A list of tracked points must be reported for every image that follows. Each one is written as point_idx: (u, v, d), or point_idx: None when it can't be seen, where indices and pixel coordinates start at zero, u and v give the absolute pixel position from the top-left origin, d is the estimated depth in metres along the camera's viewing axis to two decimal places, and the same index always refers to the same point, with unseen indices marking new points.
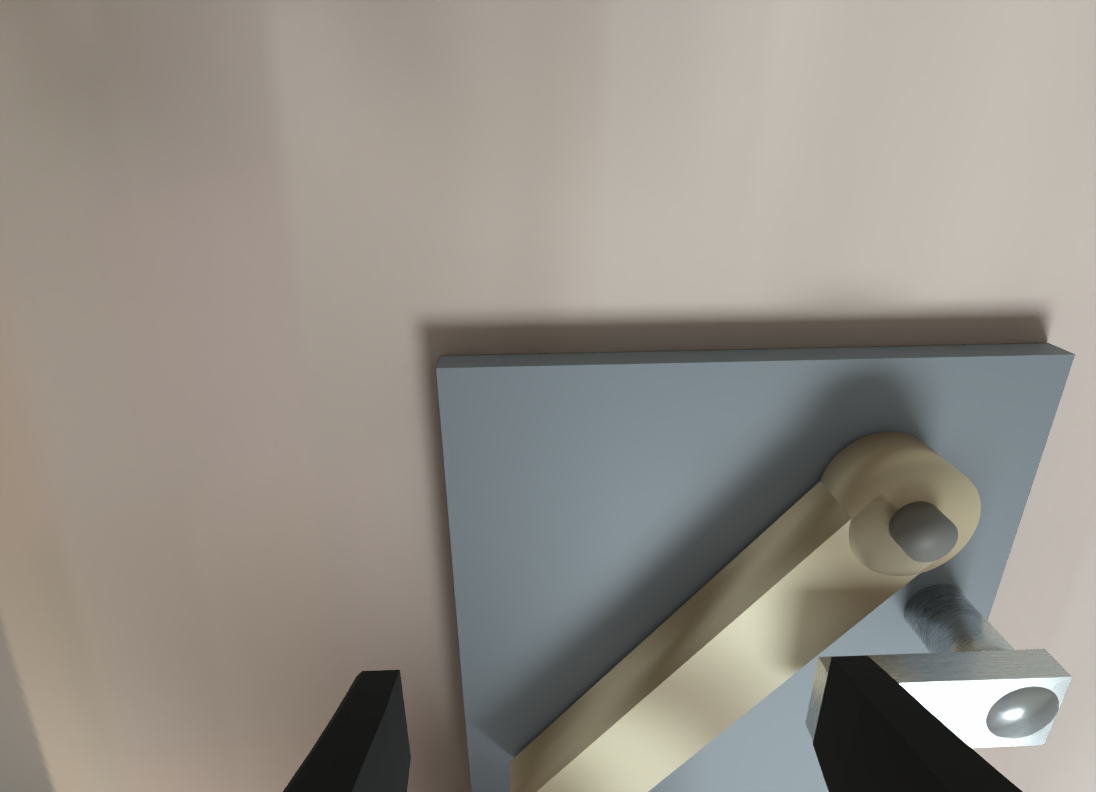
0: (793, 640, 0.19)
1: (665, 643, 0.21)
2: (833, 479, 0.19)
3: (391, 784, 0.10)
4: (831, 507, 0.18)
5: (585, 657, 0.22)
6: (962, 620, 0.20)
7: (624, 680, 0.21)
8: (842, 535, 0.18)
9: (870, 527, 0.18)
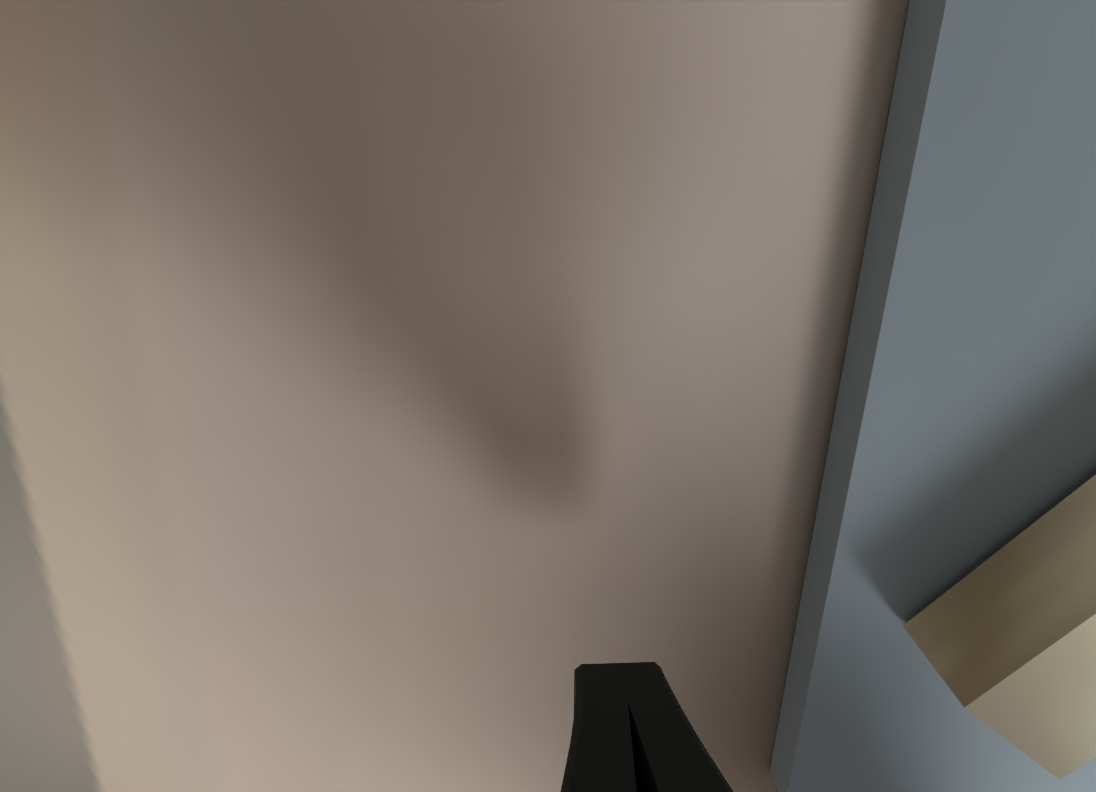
0: None
1: None
2: None
3: None
4: None
5: None
6: None
7: None
8: None
9: None
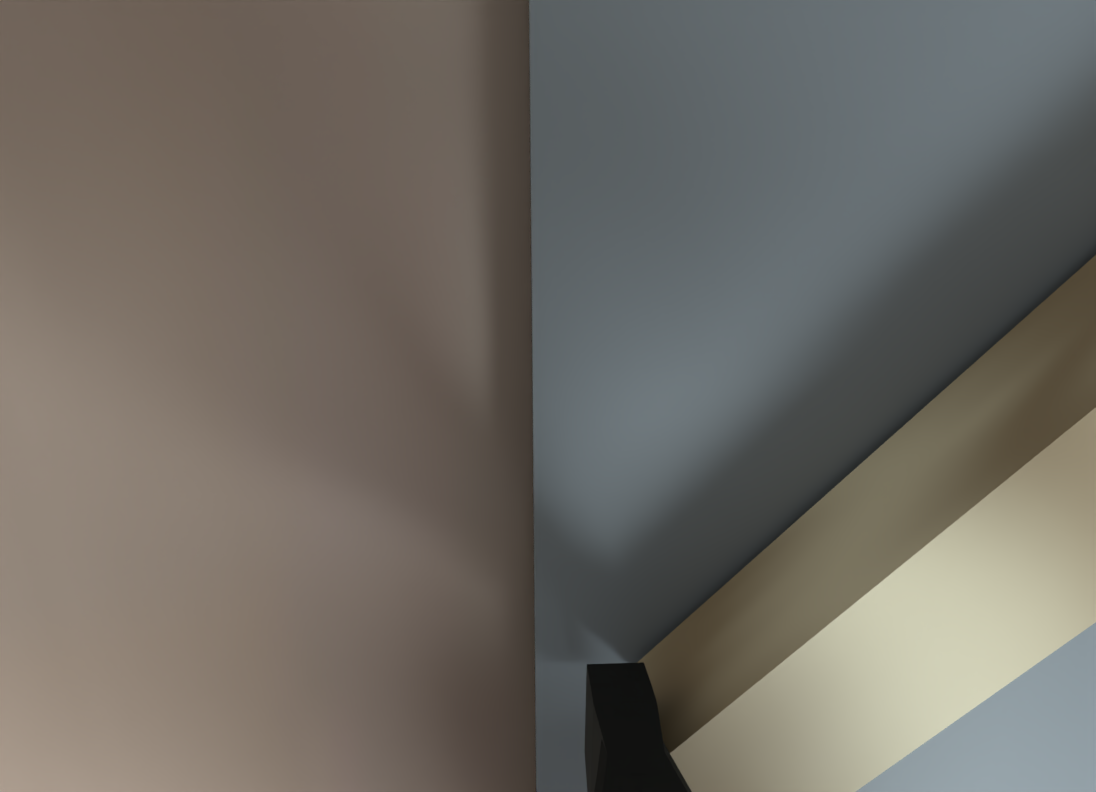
0: None
1: (1027, 369, 0.09)
2: None
3: None
4: None
5: (802, 431, 0.10)
6: None
7: (914, 467, 0.09)
8: None
9: None
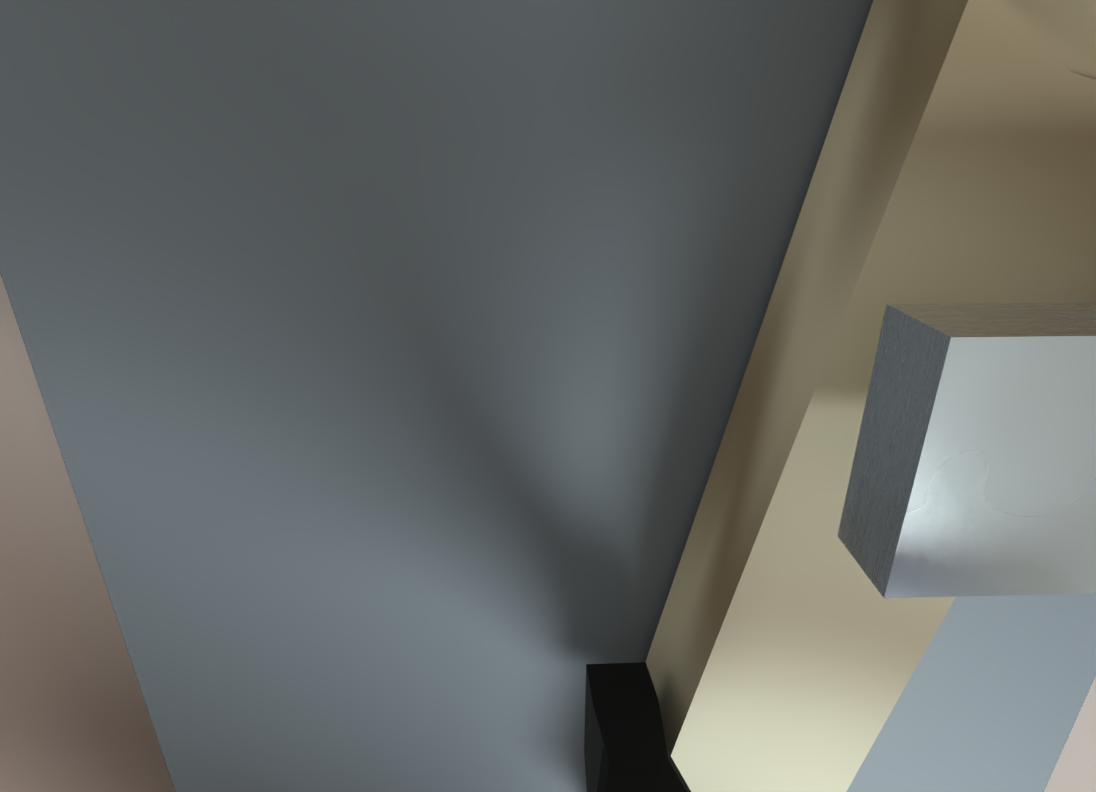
0: None
1: (717, 519, 0.10)
2: None
3: None
4: None
5: (340, 438, 0.10)
6: None
7: (681, 621, 0.10)
8: (988, 15, 0.06)
9: None
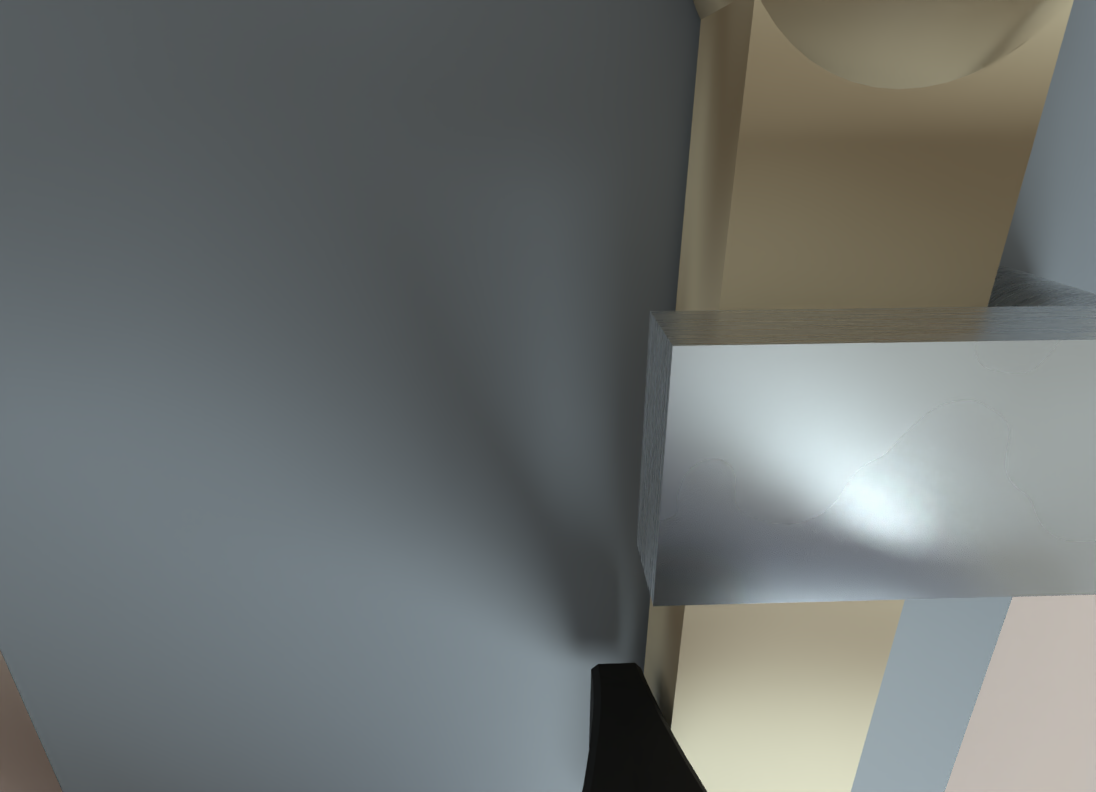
0: None
1: None
2: None
3: None
4: (725, 29, 0.07)
5: (197, 444, 0.10)
6: (1057, 297, 0.08)
7: (658, 647, 0.11)
8: (773, 54, 0.06)
9: None
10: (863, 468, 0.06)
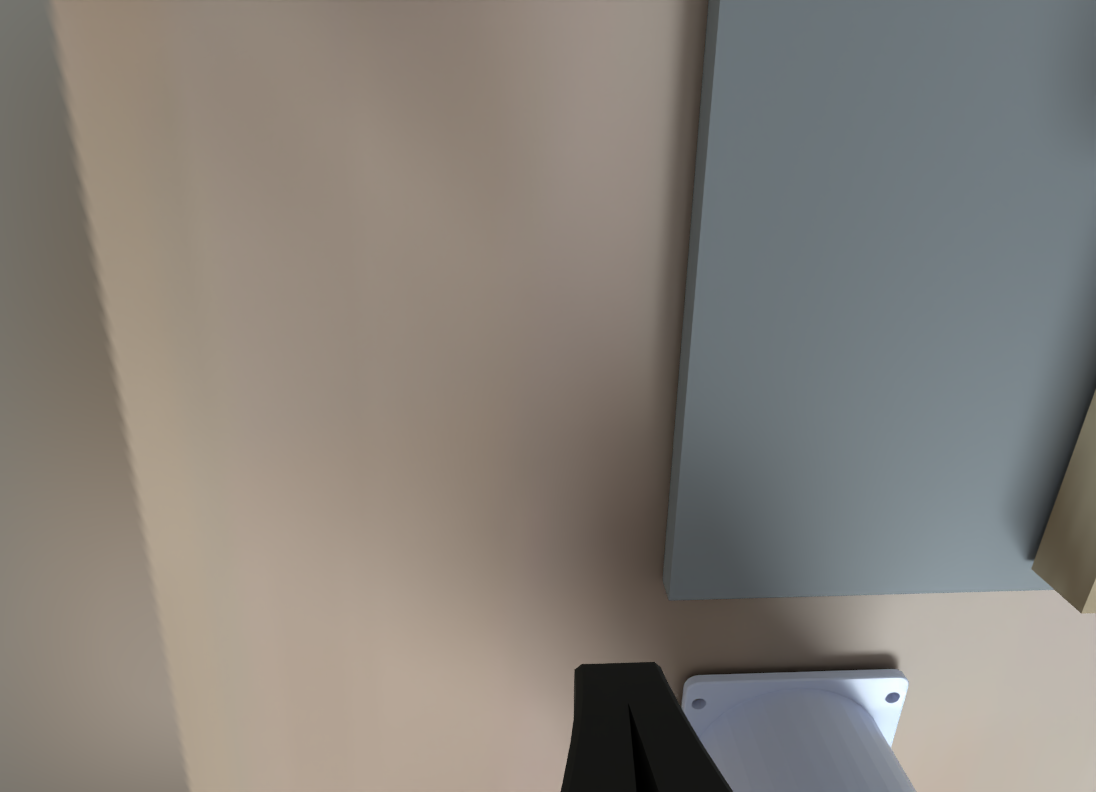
0: None
1: None
2: None
3: None
4: None
5: (859, 275, 0.17)
6: None
7: None
8: None
9: None
10: None
